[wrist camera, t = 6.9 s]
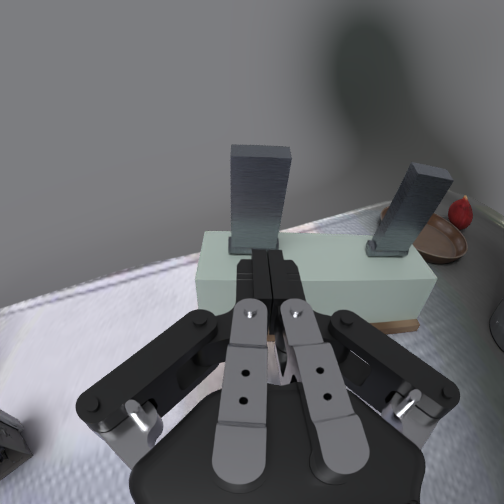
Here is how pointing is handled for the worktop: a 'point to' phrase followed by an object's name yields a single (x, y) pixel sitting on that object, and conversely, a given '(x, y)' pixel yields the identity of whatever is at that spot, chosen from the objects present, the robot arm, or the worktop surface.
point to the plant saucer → (438, 240)
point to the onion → (460, 213)
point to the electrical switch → (11, 444)
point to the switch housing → (325, 276)
